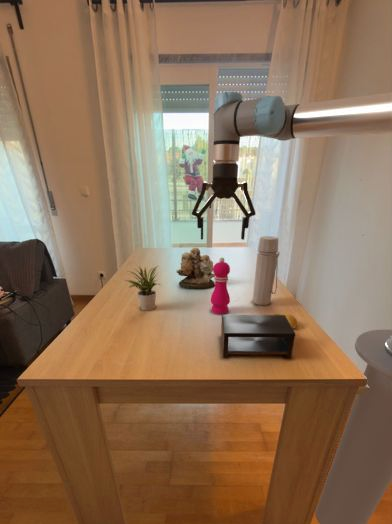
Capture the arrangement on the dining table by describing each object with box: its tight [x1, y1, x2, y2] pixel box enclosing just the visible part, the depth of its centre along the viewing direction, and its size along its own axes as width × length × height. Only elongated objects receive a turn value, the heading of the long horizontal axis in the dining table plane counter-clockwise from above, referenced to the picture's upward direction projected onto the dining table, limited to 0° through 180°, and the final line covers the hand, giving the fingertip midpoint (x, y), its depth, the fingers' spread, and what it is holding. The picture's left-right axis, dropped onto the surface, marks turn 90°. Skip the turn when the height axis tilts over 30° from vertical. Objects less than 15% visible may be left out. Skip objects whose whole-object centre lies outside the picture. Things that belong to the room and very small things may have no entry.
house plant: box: [124, 265, 162, 311], centre depth 108 cm, size 14×14×16 cm
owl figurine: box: [176, 247, 215, 290], centre depth 130 cm, size 18×12×17 cm, turn 95°
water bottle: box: [252, 235, 281, 306], centre depth 108 cm, size 9×8×25 cm
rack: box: [220, 314, 296, 360], centre depth 83 cm, size 19×12×8 cm, turn 88°
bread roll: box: [274, 313, 298, 329], centre depth 97 cm, size 8×9×4 cm
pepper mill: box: [210, 257, 231, 315], centre depth 103 cm, size 7×7×20 cm
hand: (222, 238), depth 95 cm, fingers open, 13 cm apart
